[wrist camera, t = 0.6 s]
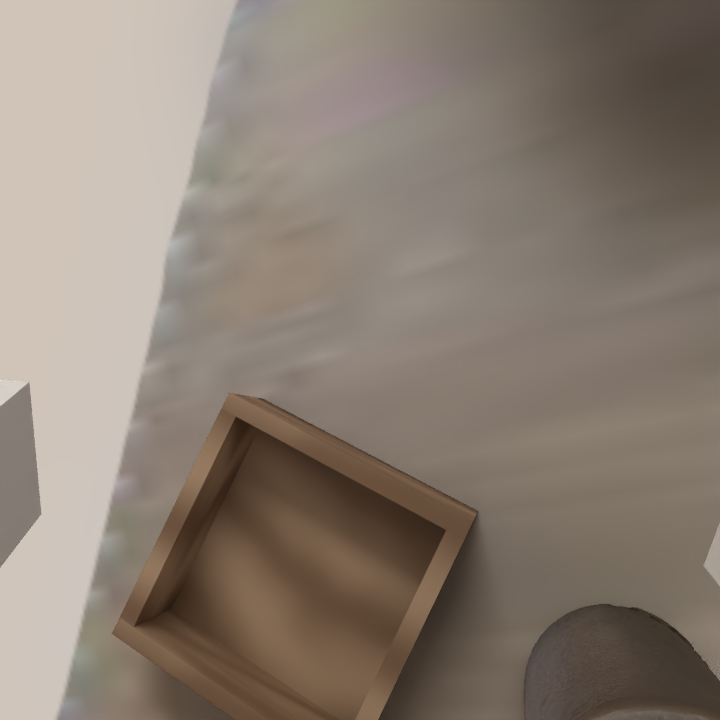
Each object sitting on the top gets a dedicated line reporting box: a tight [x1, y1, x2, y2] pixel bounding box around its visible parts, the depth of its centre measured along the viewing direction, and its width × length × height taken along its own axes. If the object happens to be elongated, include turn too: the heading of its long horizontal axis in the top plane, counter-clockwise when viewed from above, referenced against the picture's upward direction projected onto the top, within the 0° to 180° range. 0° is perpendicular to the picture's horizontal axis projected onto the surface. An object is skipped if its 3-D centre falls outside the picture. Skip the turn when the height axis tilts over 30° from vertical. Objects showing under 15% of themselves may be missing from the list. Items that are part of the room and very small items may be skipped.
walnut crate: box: [112, 393, 478, 720], centre depth 36 cm, size 15×15×5 cm
